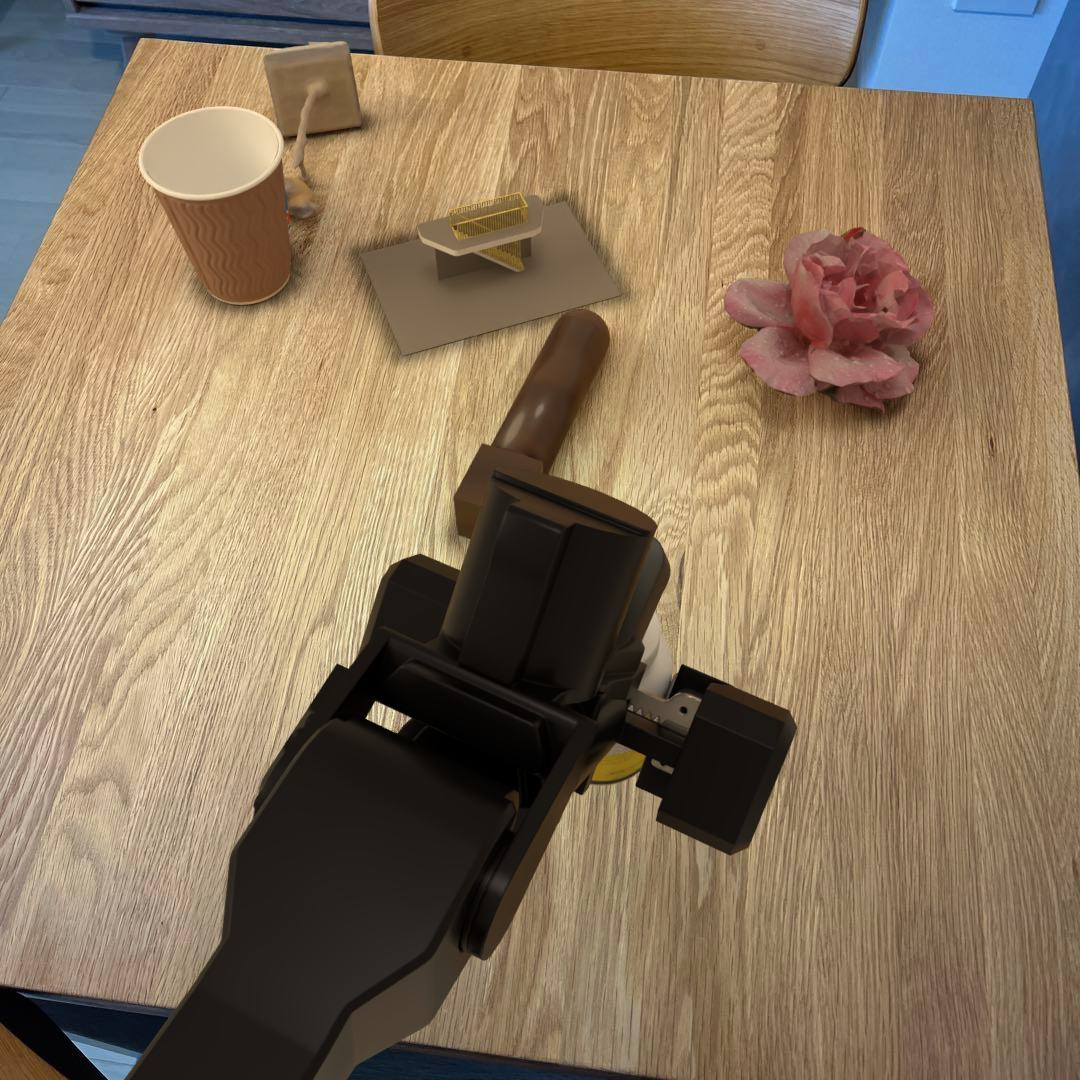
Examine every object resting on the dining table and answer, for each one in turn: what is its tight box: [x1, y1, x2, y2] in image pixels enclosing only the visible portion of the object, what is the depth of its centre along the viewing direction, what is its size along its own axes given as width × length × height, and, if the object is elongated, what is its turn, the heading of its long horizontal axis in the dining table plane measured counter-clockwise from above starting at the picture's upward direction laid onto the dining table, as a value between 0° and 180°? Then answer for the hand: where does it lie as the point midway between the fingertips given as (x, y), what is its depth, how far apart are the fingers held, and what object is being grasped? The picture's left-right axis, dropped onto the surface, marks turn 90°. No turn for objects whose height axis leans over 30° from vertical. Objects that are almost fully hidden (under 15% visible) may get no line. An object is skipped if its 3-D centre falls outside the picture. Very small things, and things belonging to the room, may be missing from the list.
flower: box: [723, 226, 937, 415], centre depth 82 cm, size 15×15×10 cm
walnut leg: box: [453, 308, 611, 540], centre depth 80 cm, size 20×4×4 cm, turn 159°
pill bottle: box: [590, 610, 674, 787], centre depth 57 cm, size 6×6×12 cm
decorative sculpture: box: [263, 41, 363, 220], centre depth 96 cm, size 16×10×7 cm, turn 170°
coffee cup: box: [138, 105, 292, 306], centre depth 86 cm, size 10×10×12 cm
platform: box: [359, 191, 622, 356], centre depth 89 cm, size 12×18×7 cm, turn 111°
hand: (616, 655), depth 57 cm, fingers closed on pill bottle, 6 cm apart
